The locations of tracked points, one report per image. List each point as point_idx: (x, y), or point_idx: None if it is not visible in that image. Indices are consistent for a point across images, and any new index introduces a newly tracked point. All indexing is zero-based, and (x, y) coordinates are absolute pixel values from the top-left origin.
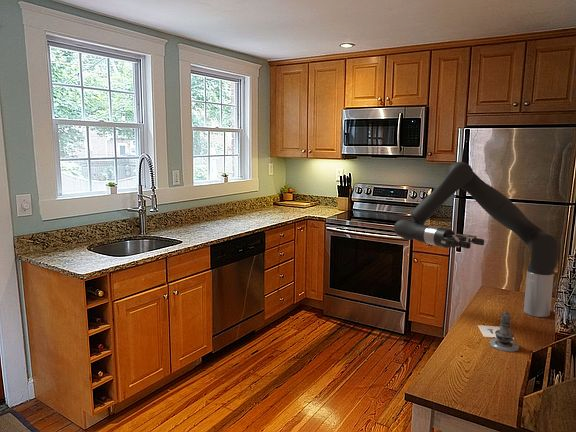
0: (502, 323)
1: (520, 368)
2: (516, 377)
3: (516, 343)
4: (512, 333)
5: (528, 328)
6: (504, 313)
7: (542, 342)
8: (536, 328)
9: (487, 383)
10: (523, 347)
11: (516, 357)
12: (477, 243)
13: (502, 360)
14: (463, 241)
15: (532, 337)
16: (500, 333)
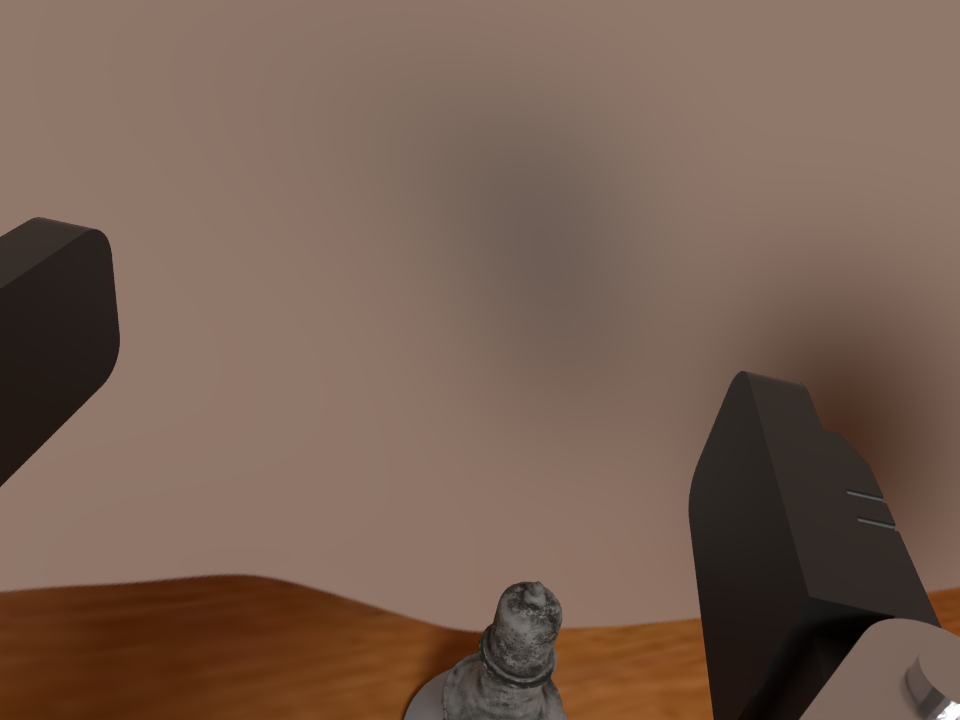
0: (549, 660)
1: (677, 621)
2: None
3: (427, 686)
4: (460, 664)
5: (68, 694)
6: (547, 606)
7: (283, 594)
8: (43, 654)
9: None
10: (427, 657)
11: (583, 658)
12: (14, 440)
13: (679, 704)
14: (830, 512)
15: (235, 646)
16: (544, 711)
